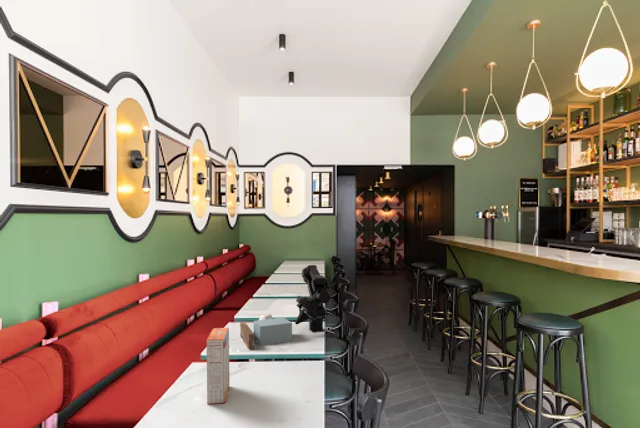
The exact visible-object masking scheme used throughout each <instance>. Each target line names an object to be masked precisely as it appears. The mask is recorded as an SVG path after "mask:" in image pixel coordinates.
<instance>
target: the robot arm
mask: <svg viewBox="0 0 640 428" xmlns="http://www.w3.org/2000/svg"><path fill="white" fill-rule="evenodd" d="M301 278H302V279H303V282H304V283H305V284H306V285H307V289H308V293H309V297H306V296H301V295H297V298H296V301H295V302H297V304H296V307H297V308H298V310H299V313H298V316H297V318H296V320H295V322H294V323H295V325H297V326H298V325H299V324H301V323H303V322H306V321H308V320H309V322H308V327H309V328H308V330H309V329H310V330H309V331H311V332H312V333H316V332H317V331H319V332H324V331H325V329H324V322H323V321H324V320H326V316H327V315H326V314H327V310H326V308H325V305H324V304H327V303H329V302H330V301H331V295H330V294H329V292H327V291H330V285H329V282H328V280H327V278H326V277H325V276H324V275H321V274H320V272H319V270H318V266H317V265H316V264H309V265H307V266H306V267H305V268H303V269H302V270H301ZM317 333H318V332H317Z"/></svg>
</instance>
